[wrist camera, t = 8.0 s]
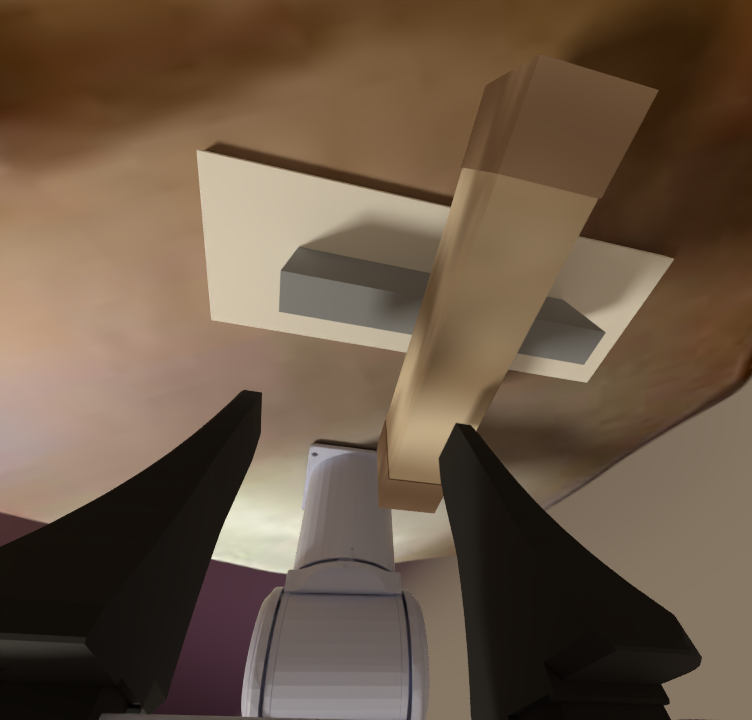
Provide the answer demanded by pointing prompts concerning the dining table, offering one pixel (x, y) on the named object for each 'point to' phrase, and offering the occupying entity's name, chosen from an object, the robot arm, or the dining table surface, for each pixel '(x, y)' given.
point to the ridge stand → (385, 267)
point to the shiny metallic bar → (501, 254)
